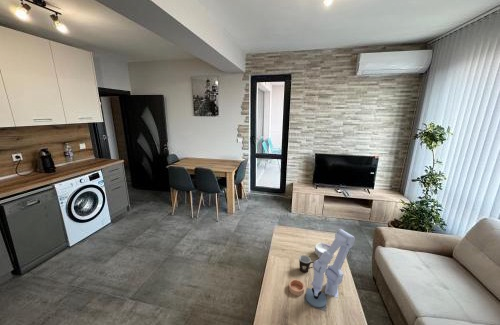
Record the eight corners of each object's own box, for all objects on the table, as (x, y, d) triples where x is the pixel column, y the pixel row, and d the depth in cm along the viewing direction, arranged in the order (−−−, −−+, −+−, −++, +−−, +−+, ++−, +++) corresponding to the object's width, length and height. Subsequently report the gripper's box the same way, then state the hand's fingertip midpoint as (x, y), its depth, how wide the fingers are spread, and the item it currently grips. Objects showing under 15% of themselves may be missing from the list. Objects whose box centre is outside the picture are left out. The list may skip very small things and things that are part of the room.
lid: (307, 286, 140) (307, 282, 139) (327, 293, 134) (327, 289, 134) (304, 302, 128) (304, 297, 127) (325, 310, 123) (326, 305, 122)
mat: (307, 288, 140) (307, 287, 140) (327, 295, 135) (327, 294, 135) (303, 303, 128) (303, 303, 128) (325, 312, 123) (325, 311, 123)
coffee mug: (296, 270, 156) (297, 259, 153) (301, 264, 162) (302, 253, 160) (310, 278, 148) (311, 267, 146) (315, 272, 154) (316, 260, 152)
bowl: (290, 282, 145) (291, 277, 144) (304, 287, 141) (305, 282, 140) (287, 293, 136) (287, 288, 135) (302, 298, 132) (302, 293, 131)
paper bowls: (330, 251, 179) (331, 243, 177) (335, 263, 164) (336, 254, 162) (312, 249, 180) (313, 241, 178) (316, 261, 165) (317, 253, 163)
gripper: (313, 268, 136) (311, 285, 139) (309, 285, 123) (308, 303, 126) (324, 272, 133) (322, 289, 136) (322, 289, 120) (319, 307, 123)
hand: (316, 296), depth 131 cm, fingers closed on lid, 3 cm apart
